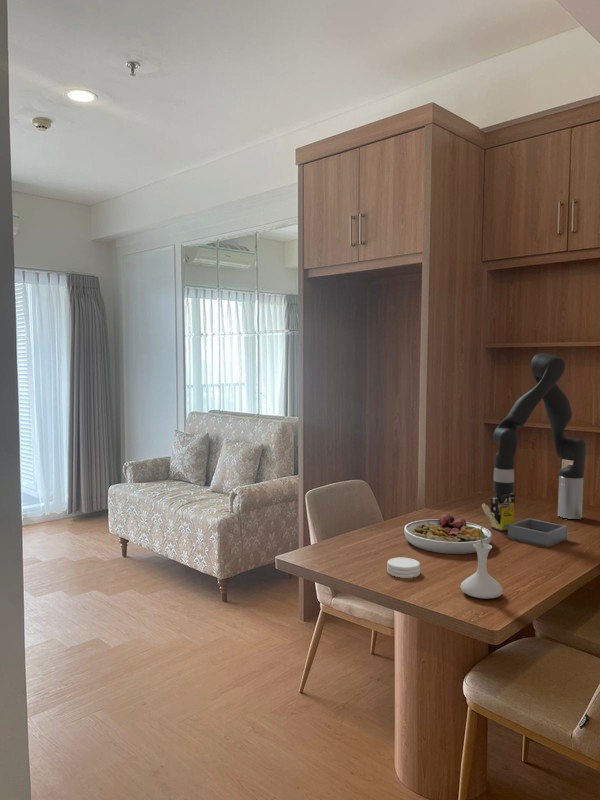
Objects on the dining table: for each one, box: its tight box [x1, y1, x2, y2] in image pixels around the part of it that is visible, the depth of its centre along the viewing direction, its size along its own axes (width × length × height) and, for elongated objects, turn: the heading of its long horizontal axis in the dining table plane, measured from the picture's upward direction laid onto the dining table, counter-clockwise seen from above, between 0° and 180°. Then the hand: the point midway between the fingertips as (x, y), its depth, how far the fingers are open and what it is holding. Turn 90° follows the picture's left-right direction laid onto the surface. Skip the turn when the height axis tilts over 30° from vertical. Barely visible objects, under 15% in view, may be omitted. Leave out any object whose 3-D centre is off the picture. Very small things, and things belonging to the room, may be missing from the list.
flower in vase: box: [460, 502, 504, 600], centre depth 169 cm, size 13×11×25 cm
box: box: [507, 517, 568, 549], centre depth 222 cm, size 15×15×5 cm
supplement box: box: [490, 502, 515, 533], centre depth 235 cm, size 6×6×11 cm
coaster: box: [386, 556, 421, 579], centre depth 186 cm, size 10×10×4 cm
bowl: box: [403, 513, 492, 555], centre depth 217 cm, size 30×30×8 cm
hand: (502, 522), depth 235 cm, fingers closed on supplement box, 7 cm apart
